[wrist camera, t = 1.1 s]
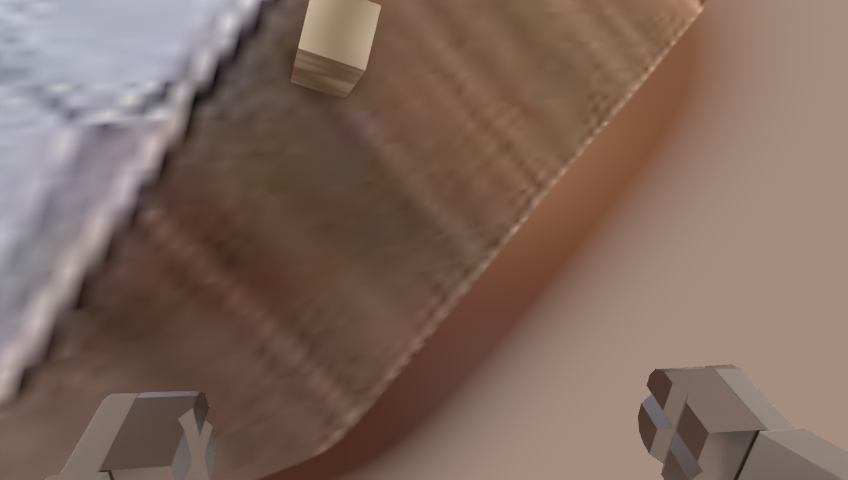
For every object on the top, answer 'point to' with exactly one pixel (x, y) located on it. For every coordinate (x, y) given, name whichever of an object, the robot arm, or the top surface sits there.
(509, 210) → the top surface
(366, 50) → the birch peg
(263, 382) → the top surface
